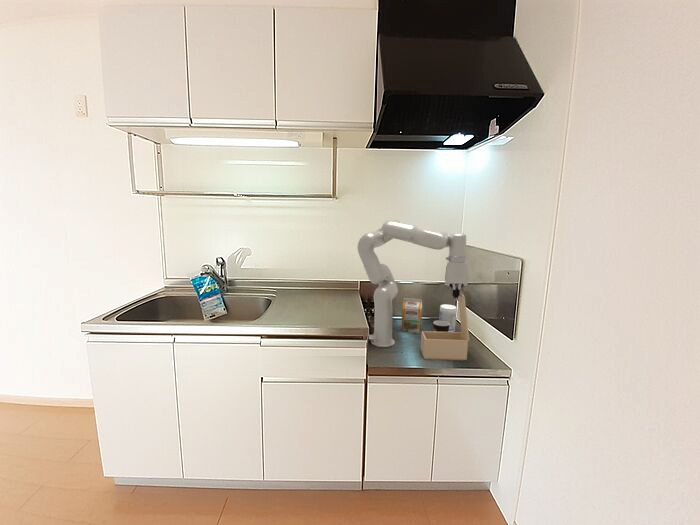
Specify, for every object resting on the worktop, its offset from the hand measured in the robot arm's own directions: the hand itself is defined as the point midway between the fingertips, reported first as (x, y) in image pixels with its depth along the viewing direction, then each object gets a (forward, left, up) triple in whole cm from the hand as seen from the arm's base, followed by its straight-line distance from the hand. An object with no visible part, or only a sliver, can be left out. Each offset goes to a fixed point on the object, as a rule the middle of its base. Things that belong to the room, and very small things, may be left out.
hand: (455, 297), depth 163 cm
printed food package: (-15, +34, -30) cm, 48 cm away
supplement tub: (+6, +35, -30) cm, 46 cm away
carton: (-4, 0, -30) cm, 30 cm away
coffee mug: (-1, +20, -30) cm, 36 cm away
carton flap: (+4, 0, -9) cm, 9 cm away
